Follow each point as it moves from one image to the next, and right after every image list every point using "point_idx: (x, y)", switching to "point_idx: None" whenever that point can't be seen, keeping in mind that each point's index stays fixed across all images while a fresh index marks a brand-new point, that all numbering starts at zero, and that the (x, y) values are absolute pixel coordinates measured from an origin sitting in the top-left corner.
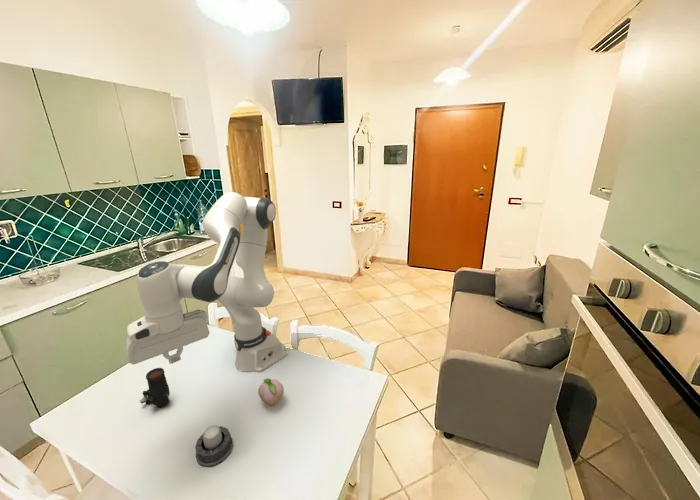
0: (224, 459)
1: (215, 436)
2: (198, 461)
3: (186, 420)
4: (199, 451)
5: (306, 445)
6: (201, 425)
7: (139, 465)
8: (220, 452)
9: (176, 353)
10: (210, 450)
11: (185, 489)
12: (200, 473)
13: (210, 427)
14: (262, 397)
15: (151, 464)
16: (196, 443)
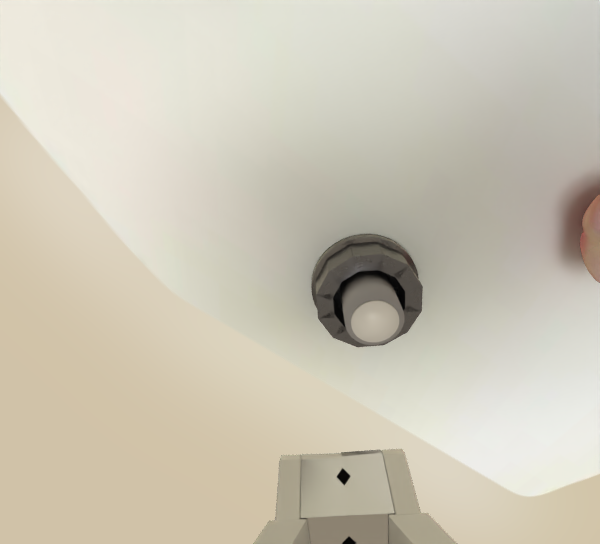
0: None
1: (380, 339)
2: (315, 302)
3: (309, 96)
4: (324, 316)
5: (559, 400)
6: (352, 160)
7: (161, 204)
8: None
9: (390, 526)
10: None
11: (274, 342)
12: (313, 324)
13: (377, 303)
14: (594, 240)
15: (194, 222)
16: (322, 284)
